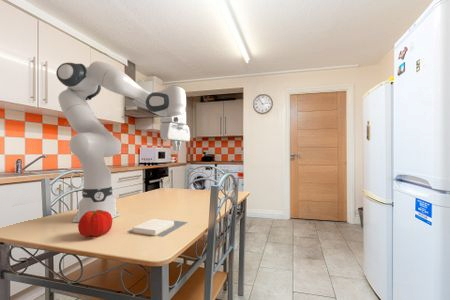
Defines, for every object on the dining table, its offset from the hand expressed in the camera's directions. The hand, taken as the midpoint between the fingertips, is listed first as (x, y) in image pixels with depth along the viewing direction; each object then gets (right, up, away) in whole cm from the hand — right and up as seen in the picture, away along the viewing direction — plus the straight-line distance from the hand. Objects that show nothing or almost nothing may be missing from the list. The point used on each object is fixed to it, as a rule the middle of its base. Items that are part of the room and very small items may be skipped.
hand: (176, 150), depth 106 cm
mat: (-4, -31, -15) cm, 34 cm away
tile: (-3, -30, -12) cm, 33 cm away
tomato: (-25, -31, -23) cm, 46 cm away
